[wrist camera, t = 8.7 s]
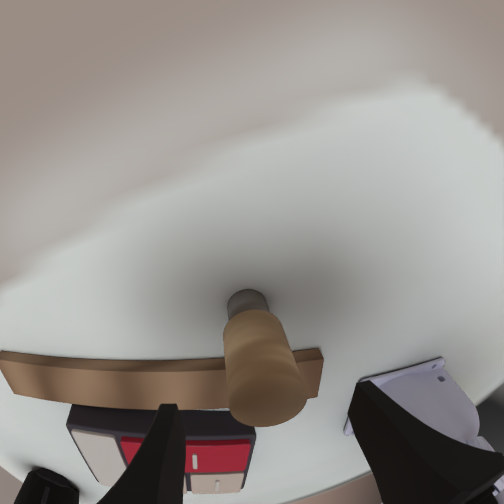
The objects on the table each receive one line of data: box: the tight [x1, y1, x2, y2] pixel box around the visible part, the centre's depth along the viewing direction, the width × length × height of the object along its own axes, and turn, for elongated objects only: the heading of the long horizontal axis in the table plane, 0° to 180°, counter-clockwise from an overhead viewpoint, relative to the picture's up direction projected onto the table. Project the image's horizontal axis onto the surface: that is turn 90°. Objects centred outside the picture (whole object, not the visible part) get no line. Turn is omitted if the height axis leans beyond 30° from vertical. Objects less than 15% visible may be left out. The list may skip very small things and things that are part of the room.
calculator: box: [66, 404, 256, 494], centre depth 22 cm, size 11×4×15 cm
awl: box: [223, 289, 307, 427], centre depth 15 cm, size 3×3×8 cm
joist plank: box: [0, 348, 324, 410], centre depth 19 cm, size 26×4×1 cm, turn 91°
